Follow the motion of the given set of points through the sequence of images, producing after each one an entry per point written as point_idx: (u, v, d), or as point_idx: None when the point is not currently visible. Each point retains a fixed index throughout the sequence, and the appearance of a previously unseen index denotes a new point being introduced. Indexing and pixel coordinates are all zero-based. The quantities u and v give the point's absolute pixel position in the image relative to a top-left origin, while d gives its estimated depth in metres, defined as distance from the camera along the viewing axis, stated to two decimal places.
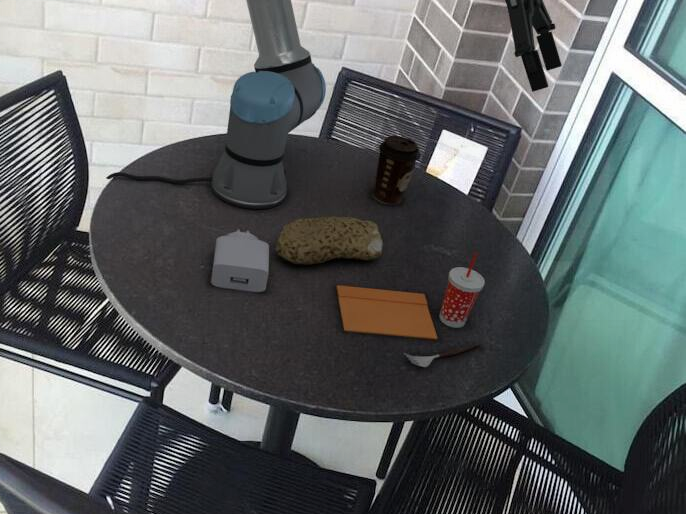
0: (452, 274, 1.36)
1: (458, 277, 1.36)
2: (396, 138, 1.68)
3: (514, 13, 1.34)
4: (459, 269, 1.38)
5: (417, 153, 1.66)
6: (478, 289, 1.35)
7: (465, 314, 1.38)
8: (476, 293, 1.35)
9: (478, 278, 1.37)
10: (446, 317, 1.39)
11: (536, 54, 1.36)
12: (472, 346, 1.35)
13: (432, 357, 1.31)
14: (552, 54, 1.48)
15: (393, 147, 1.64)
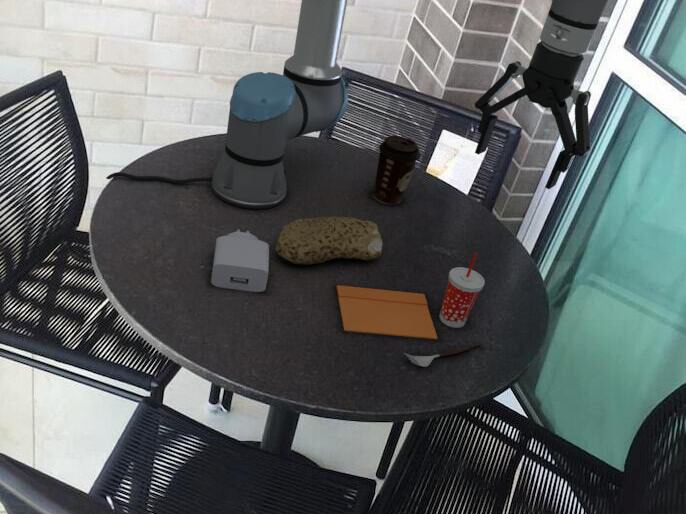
0: (452, 274, 1.36)
1: (458, 277, 1.36)
2: (396, 138, 1.68)
3: None
4: (459, 269, 1.38)
5: (417, 153, 1.66)
6: (478, 289, 1.35)
7: (465, 314, 1.38)
8: (476, 293, 1.35)
9: (478, 278, 1.37)
10: (446, 317, 1.39)
11: (486, 121, 1.36)
12: (472, 346, 1.35)
13: (432, 357, 1.31)
14: None
15: (393, 147, 1.64)
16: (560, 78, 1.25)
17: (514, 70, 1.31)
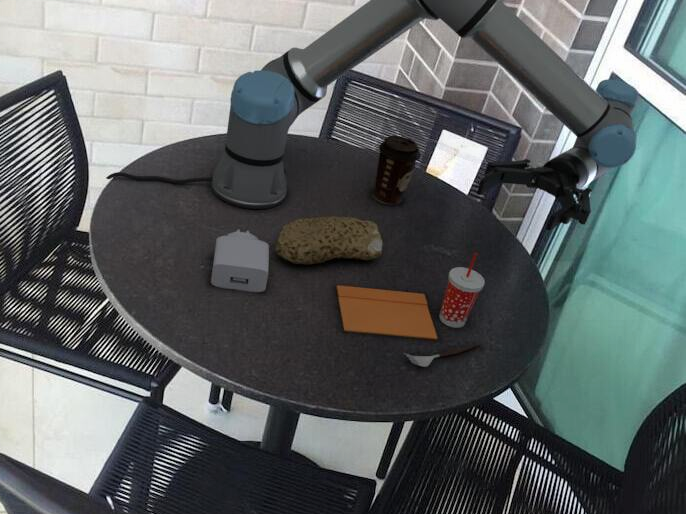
0: (452, 274, 1.36)
1: (458, 277, 1.36)
2: (396, 138, 1.68)
3: None
4: (459, 269, 1.38)
5: (417, 153, 1.66)
6: (478, 289, 1.35)
7: (465, 314, 1.38)
8: (476, 293, 1.35)
9: (478, 278, 1.37)
10: (446, 317, 1.39)
11: None
12: (472, 346, 1.35)
13: (432, 357, 1.31)
14: (488, 187, 1.42)
15: (393, 147, 1.64)
16: None
17: None
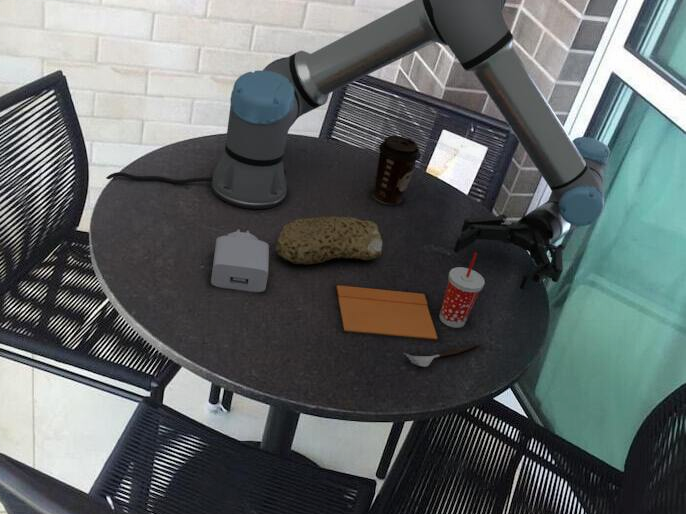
0: (452, 274, 1.36)
1: (458, 277, 1.36)
2: (396, 138, 1.68)
3: None
4: (459, 269, 1.38)
5: (417, 153, 1.66)
6: (478, 289, 1.35)
7: (465, 314, 1.38)
8: (476, 293, 1.35)
9: (478, 278, 1.37)
10: (446, 317, 1.39)
11: None
12: (472, 346, 1.35)
13: (432, 357, 1.31)
14: (465, 244, 1.47)
15: (393, 147, 1.64)
16: None
17: None
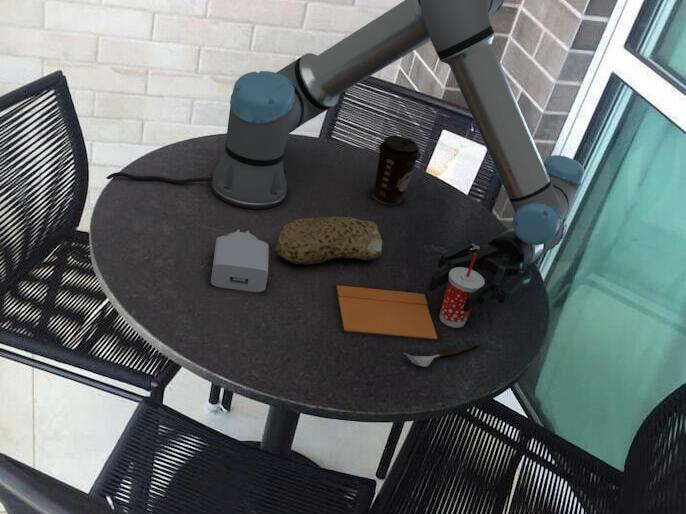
0: (452, 274, 1.36)
1: (458, 277, 1.36)
2: (396, 138, 1.68)
3: (521, 283, 1.40)
4: (459, 269, 1.38)
5: (417, 153, 1.66)
6: None
7: (465, 314, 1.38)
8: None
9: (478, 278, 1.37)
10: (446, 317, 1.39)
11: None
12: (472, 346, 1.35)
13: (432, 357, 1.31)
14: (441, 282, 1.37)
15: (393, 147, 1.64)
16: None
17: None
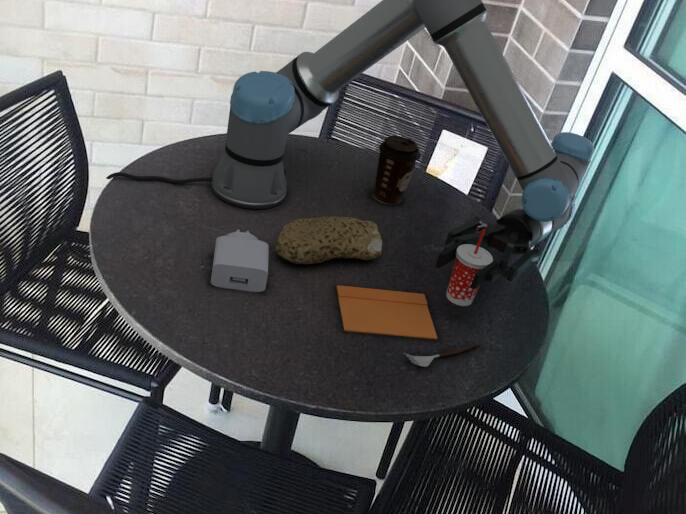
0: (460, 251, 1.34)
1: (466, 253, 1.33)
2: (396, 138, 1.68)
3: (529, 260, 1.37)
4: (467, 246, 1.35)
5: (417, 153, 1.66)
6: None
7: (472, 292, 1.35)
8: None
9: (486, 255, 1.34)
10: (453, 295, 1.36)
11: None
12: (472, 346, 1.35)
13: (432, 357, 1.31)
14: (448, 259, 1.34)
15: (393, 147, 1.64)
16: None
17: None
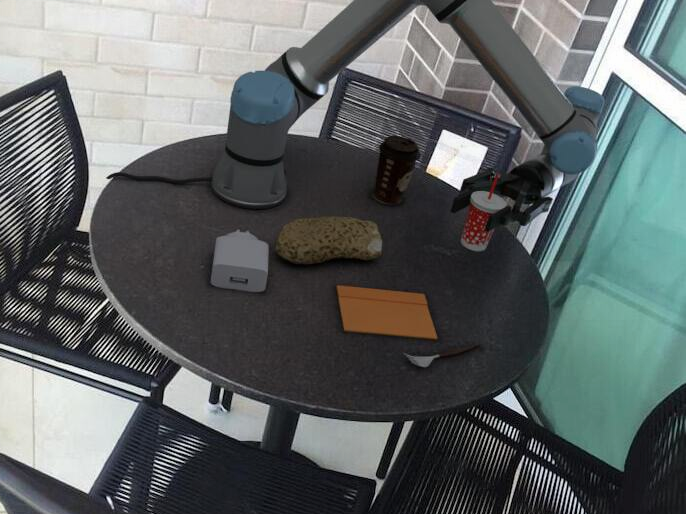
0: (474, 196, 1.38)
1: (480, 199, 1.38)
2: (396, 138, 1.68)
3: (542, 207, 1.42)
4: (481, 193, 1.40)
5: (417, 153, 1.66)
6: None
7: (486, 237, 1.40)
8: None
9: (499, 201, 1.39)
10: (468, 240, 1.41)
11: None
12: (472, 346, 1.35)
13: (432, 357, 1.31)
14: (463, 205, 1.39)
15: (393, 147, 1.64)
16: None
17: None
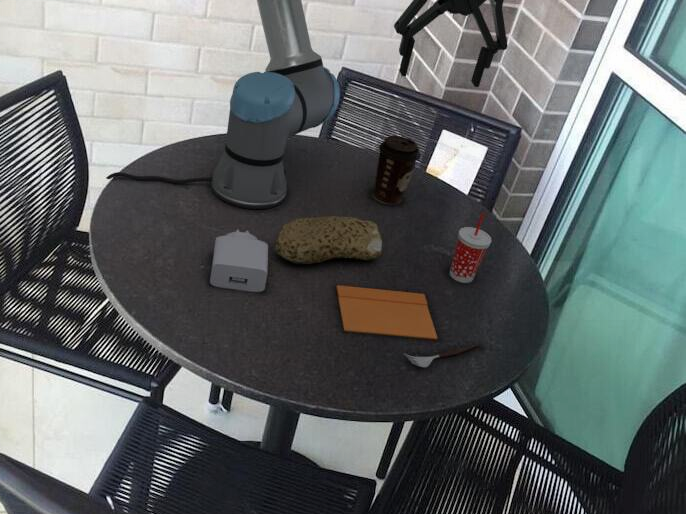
0: (461, 233, 1.49)
1: (467, 235, 1.48)
2: (396, 138, 1.68)
3: None
4: (468, 229, 1.50)
5: (417, 153, 1.66)
6: (485, 246, 1.47)
7: (473, 270, 1.50)
8: (483, 250, 1.48)
9: (485, 236, 1.49)
10: (456, 273, 1.51)
11: (409, 43, 1.40)
12: (472, 346, 1.35)
13: (432, 357, 1.31)
14: (477, 71, 1.45)
15: (393, 147, 1.64)
16: None
17: None
